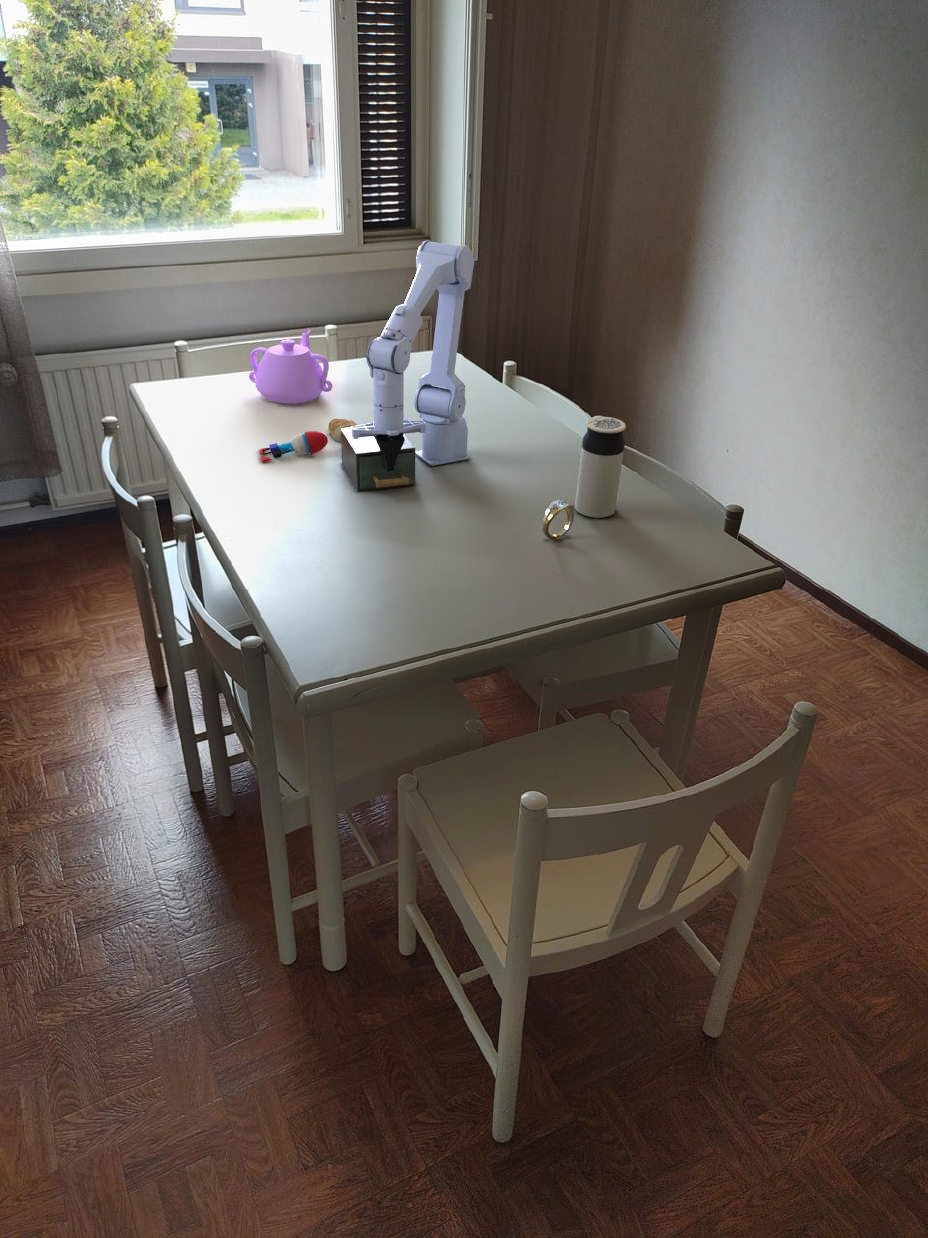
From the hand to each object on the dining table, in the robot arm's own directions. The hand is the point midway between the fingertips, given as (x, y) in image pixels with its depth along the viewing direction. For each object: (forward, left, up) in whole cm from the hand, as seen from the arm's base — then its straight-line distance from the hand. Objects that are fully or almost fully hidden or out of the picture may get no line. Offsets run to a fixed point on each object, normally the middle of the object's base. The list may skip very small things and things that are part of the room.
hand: (389, 469), depth 180 cm
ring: (-20, +31, -5) cm, 37 cm away
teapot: (-4, -63, -5) cm, 63 cm away
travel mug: (-34, +24, -5) cm, 42 cm away
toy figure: (+10, -26, -5) cm, 28 cm away
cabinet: (-2, -9, -5) cm, 10 cm away
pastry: (-4, -32, -5) cm, 32 cm away
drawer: (-1, -5, -4) cm, 7 cm away
